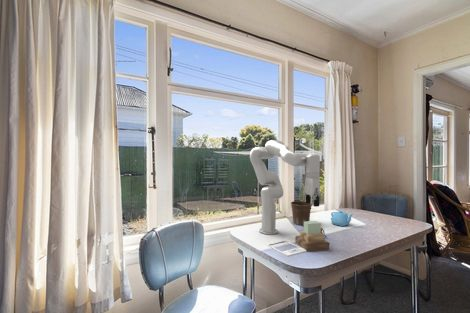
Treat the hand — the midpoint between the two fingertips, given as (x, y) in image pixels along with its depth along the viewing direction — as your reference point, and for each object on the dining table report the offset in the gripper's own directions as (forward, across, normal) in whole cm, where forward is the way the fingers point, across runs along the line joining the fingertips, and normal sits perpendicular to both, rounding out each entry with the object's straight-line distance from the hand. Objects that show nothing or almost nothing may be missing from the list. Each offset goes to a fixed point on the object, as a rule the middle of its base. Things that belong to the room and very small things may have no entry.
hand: (312, 204), depth 146 cm
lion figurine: (+25, -15, +11) cm, 31 cm away
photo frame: (+25, +1, -16) cm, 30 cm away
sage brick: (+16, 0, 0) cm, 16 cm away
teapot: (+25, -37, +46) cm, 64 cm away
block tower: (+24, 0, 0) cm, 24 cm away
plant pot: (+25, -45, +16) cm, 53 cm away
